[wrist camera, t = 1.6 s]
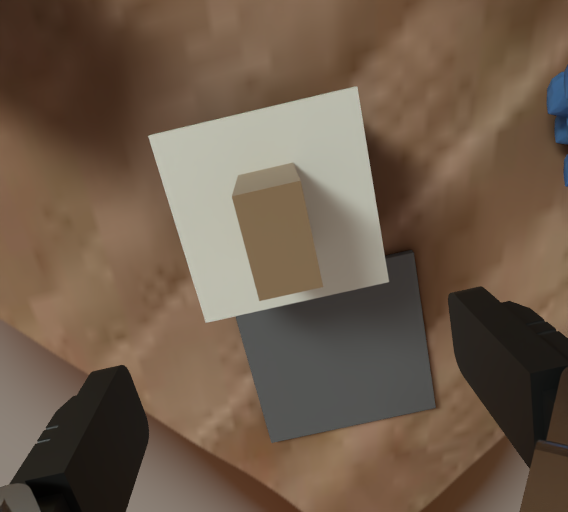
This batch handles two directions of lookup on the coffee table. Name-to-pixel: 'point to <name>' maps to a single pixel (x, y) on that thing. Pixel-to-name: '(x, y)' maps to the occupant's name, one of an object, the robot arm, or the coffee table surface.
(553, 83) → the grapes
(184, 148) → the lid
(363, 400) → the rubber mat
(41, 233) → the coffee table surface
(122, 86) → the coffee table surface
